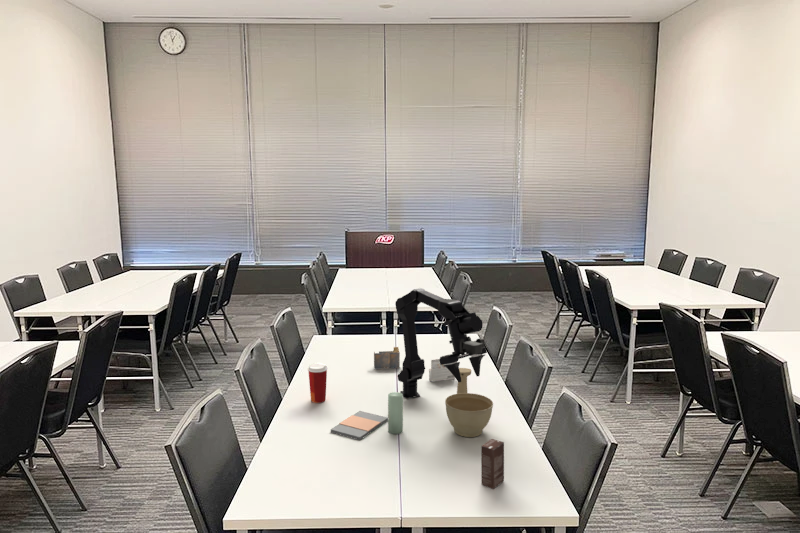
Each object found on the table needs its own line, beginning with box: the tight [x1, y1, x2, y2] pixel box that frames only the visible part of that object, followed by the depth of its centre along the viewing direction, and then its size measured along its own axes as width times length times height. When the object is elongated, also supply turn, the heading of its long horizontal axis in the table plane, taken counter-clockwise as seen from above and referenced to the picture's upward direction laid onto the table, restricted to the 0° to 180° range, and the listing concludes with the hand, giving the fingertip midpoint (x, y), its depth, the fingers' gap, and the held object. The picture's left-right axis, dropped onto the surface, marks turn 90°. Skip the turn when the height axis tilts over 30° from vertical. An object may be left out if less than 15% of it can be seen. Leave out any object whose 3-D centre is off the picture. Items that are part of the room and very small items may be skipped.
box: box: [480, 438, 505, 490], centre depth 168 cm, size 6×4×12 cm
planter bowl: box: [444, 392, 494, 438], centre depth 201 cm, size 16×16×11 cm
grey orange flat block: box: [330, 410, 388, 441], centre depth 206 cm, size 18×12×1 cm, turn 150°
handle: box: [456, 367, 472, 394], centre depth 220 cm, size 5×6×15 cm
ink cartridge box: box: [428, 358, 456, 382], centre depth 251 cm, size 2×11×10 cm, turn 108°
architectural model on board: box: [373, 346, 401, 370], centre depth 266 cm, size 11×3×10 cm, turn 97°
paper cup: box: [307, 362, 328, 404], centre depth 228 cm, size 8×8×14 cm
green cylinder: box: [387, 391, 404, 435], centre depth 201 cm, size 5×5×13 cm
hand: (469, 379), depth 208 cm, fingers open, 9 cm apart
